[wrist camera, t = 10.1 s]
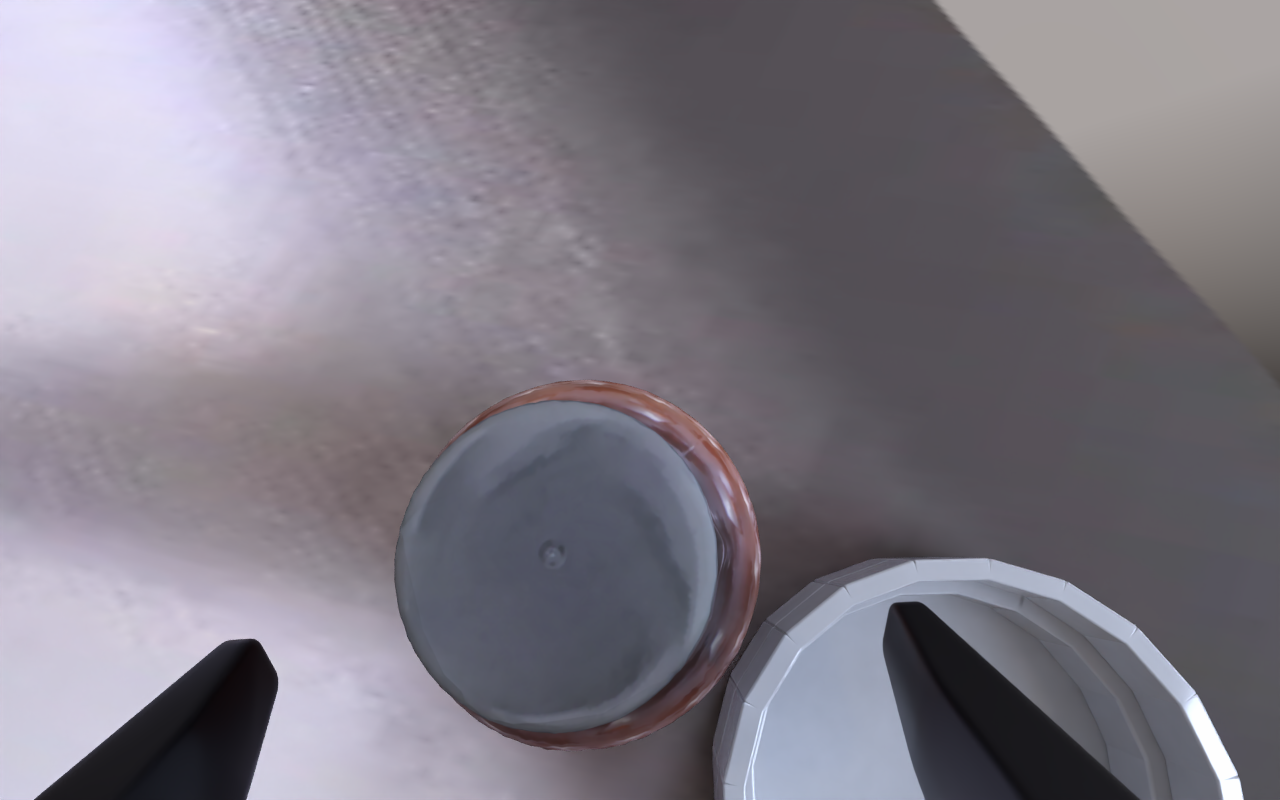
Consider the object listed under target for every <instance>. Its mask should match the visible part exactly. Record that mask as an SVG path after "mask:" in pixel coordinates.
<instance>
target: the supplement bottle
mask: <svg viewBox="0 0 1280 800" xmlns="http://www.w3.org/2000/svg"><path fill="white" fill-rule="evenodd" d="M760 571H761V548H760V539H759V532H758V526H757V519H756V515H755V512H754V509H753V505H752V503H751V501H750V498H749V494H748V491H747V489H746V486H745V484H744V482H743V480H742V478H741V476H740V474H739V472H738V470H737V469H736V467H735V465H734V464H733V462H732V461H731V459H730V457H729V456H728V454H727V453H726V451H725V450H724V449H723V448H722V446H721V445H720V444H719V443H718V441H717V440H716V439H715V438H714V437H713V436H712V435H711V434H710V433H709V432H708V431H707V430H706V429H705V428H704V427H703V426H702V425H701V424H700V423H699V422H698V421H696V420H695V419H694V418H692V417H691V416H690V415H688V414H687V413H686V412H684V411H683V410H681V409H680V408H679V407H677V406H675V405H674V404H672V403H670V402H668V401H666V400H664V399H662V398H660V397H658V396H656V395H654V394H652V393H650V392H648V391H644V390H641V389H638V388H635V387H632V386H628V385H624V384H618V383H612V382H605V381H596V380H577V381H562V382H556V383H551V384H547V385H542V386H538V387H535V388H532V389H529V390H526V391H523V392H520V393H518V394H515V395H513V396H510V397H508V398H506V399H504V400H502V401H500V402H499V403H497V404H495V405H493V406H491V407H490V408H488V409H487V410H485V411H484V412H482V413H481V414H480V415H478V416H477V417H476V418H474V419H473V420H471V421H470V422H468V423H467V424H466V425H465V427H463V428H462V429H461V430H460V431H459V432H458V433H457V434H456V435H455V436H454V437H453V438H452V439H451V440H450V441H449V443H448V444H447V445H446V446H445V447H444V449H443V450H442V451H441V452H440V454H439V455H438V457H437V458H436V460H435V461H434V462H433V464H432V465H431V466H430V468H429V470H428V471H427V472H426V473H425V474H424V476H423V478H422V480H421V482H420V484H419V485H418V486H417V488H416V489H415V491H414V493H413V495H412V497H411V500H410V503H409V505H408V507H407V509H406V512H405V515H404V519H403V521H402V524H401V526H400V533H399V538H398V542H397V546H396V553H395V587H396V595H397V602H398V608H399V612H400V616H401V619H402V621H403V624H404V627H405V630H406V633H407V637H408V639H409V641H410V642H411V644H412V646H413V649H414V651H415V653H416V654H417V656H418V657H419V659H420V661H421V662H422V664H423V665H424V667H425V668H426V670H427V671H428V673H429V674H430V675H431V676H432V677H433V678H434V680H435V681H436V682H437V683H438V684H439V686H440V687H441V688H442V689H443V690H444V691H446V692H447V693H448V694H449V695H450V696H451V697H452V698H453V699H454V700H455V701H456V702H457V703H458V704H459V705H460V706H461V707H463V708H464V709H465V710H466V711H467V712H468V713H469V714H470V715H472V716H473V717H474V718H475V719H477V720H478V721H479V722H481V723H482V724H484V725H486V726H487V727H489V728H490V729H493V730H495V731H497V732H498V733H500V734H502V735H503V736H505V737H508V738H511V739H514V740H517V741H519V742H521V743H524V744H527V745H530V746H536V747H541V748H544V749H547V750H565V751H582V750H588V749H604V748H609V747H614V746H619V745H624V744H626V743H628V742H630V741H632V740H636V739H641V738H644V737H646V736H648V735H650V734H651V733H653V732H655V731H657V730H659V729H661V728H663V727H665V726H667V725H669V724H670V723H672V722H674V721H675V720H676V719H677V718H679V717H680V716H682V715H684V714H685V713H686V712H688V711H689V710H690V709H691V708H692V707H694V706H695V705H697V704H698V703H699V702H700V701H701V700H702V699H703V698H704V697H705V696H706V695H707V693H708V692H709V691H710V690H711V689H712V688H713V687H714V686H715V685H716V684H717V683H718V681H719V680H720V679H721V677H722V676H723V674H724V673H725V672H726V670H727V668H728V666H729V665H730V663H731V662H732V661H733V659H734V658H735V656H736V655H737V653H738V651H739V649H740V647H741V644H742V641H743V639H744V637H745V636H746V634H747V630H748V627H749V624H750V622H751V619H752V615H753V612H754V608H755V605H756V600H757V596H758V590H759V581H760Z"/></svg>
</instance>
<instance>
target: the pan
mask: <svg viewBox="0 0 1280 800" xmlns="http://www.w3.org/2000/svg"><path fill="white" fill-rule="evenodd" d="M911 601H917V602H921V603H923V604H925V605H926V606H927V607H928V608H929V609H931V610H932V611H933V612H934V613H935V614H936V615H937V616H938V617H939V618H941V619H942V620H943V621H944V622H945V623H946V624H947V625H948V626H949V627H950V628H952V629H953V630H954V631H955V632H956V633H957V634H958V635H959V636H960V637H961V638H963V639H964V640H965V641H966V642H967V643H968V644H969V645H970V646H971V647H973V648H974V649H975V650H976V651H977V652H978V653H979V654H980V655H981V656H982V657H984V658H985V659H986V660H987V661H988V662H989V663H990V664H991V665H992V666H993V667H995V668H996V669H997V670H998V671H999V672H1000V673H1001V674H1002V675H1003V676H1005V677H1006V678H1007V679H1008V680H1009V681H1010V682H1011V683H1012V684H1013V685H1014V686H1016V687H1017V688H1018V689H1019V690H1020V691H1021V692H1022V693H1023V694H1024V695H1026V696H1027V697H1028V698H1029V699H1030V700H1031V701H1032V702H1033V703H1034V704H1035V705H1037V706H1038V707H1039V708H1040V709H1041V710H1042V711H1043V712H1044V713H1045V714H1046V715H1048V716H1049V717H1050V718H1051V719H1052V720H1053V721H1054V722H1055V723H1056V724H1058V725H1059V726H1060V727H1061V728H1062V729H1063V730H1064V731H1065V732H1066V733H1067V734H1069V735H1070V736H1071V737H1072V738H1073V739H1074V740H1075V741H1076V742H1077V743H1078V744H1080V745H1081V746H1082V747H1083V748H1084V749H1085V750H1086V751H1087V752H1088V753H1090V754H1091V755H1092V756H1093V757H1094V758H1095V759H1096V760H1097V761H1098V762H1099V763H1101V764H1102V765H1103V766H1104V767H1105V768H1106V769H1107V770H1108V771H1109V772H1110V773H1112V774H1113V775H1114V776H1115V777H1116V778H1117V779H1118V780H1119V781H1120V782H1122V783H1123V784H1124V785H1125V786H1126V787H1127V788H1128V789H1129V790H1130V791H1131V792H1133V793H1134V794H1135V795H1136V796H1137V797H1138V798H1139V799H1140V800H1244V798H1243V793H1242V789H1241V784H1240V779H1239V777H1238V776H1237V775H1238V773H1237V771H1236V769H1235V767H1234V765H1233V763H1232V761H1231V759H1230V757H1229V756H1228V754H1227V752H1226V750H1225V748H1224V746H1223V744H1222V742H1221V740H1220V738H1219V736H1218V734H1217V732H1216V730H1215V728H1214V726H1213V724H1212V722H1211V720H1210V718H1209V716H1208V714H1207V712H1206V710H1205V708H1204V706H1203V704H1202V702H1201V700H1200V698H1199V696H1198V695H1197V694H1196V692H1195V691H1194V690H1193V688H1192V687H1191V686H1190V685H1189V684H1188V683H1187V682H1186V681H1185V679H1184V678H1183V677H1182V676H1181V675H1180V674H1179V673H1178V672H1177V671H1176V669H1175V668H1174V667H1173V666H1172V665H1171V664H1170V663H1169V662H1168V660H1167V659H1166V658H1165V657H1164V656H1163V655H1162V654H1161V653H1160V652H1159V650H1158V649H1157V648H1156V647H1155V646H1154V645H1153V644H1152V643H1151V642H1150V640H1149V639H1148V638H1147V637H1146V636H1145V635H1144V634H1143V633H1142V631H1141V630H1140V629H1139V628H1137V627H1136V626H1135V625H1134V624H1133V623H1131V622H1130V621H1128V620H1126V619H1125V618H1123V617H1122V616H1120V615H1119V614H1117V613H1116V612H1114V611H1112V610H1111V609H1109V608H1108V607H1106V606H1105V605H1103V604H1102V603H1100V602H1098V601H1097V600H1095V599H1094V598H1092V597H1091V596H1089V595H1088V594H1086V593H1085V592H1083V591H1081V590H1080V589H1078V588H1077V587H1075V586H1074V585H1072V584H1071V583H1069V582H1067V581H1064V580H1062V579H1059V578H1056V577H1052V576H1049V575H1045V574H1042V573H1039V572H1035V571H1032V570H1028V569H1025V568H1022V567H1018V566H1015V565H1011V564H1008V563H1005V562H1001V561H998V560H994V559H988V558H965V557H908V558H875V559H869V560H867V561H864V562H861V563H858V564H856V565H853V566H850V567H847V568H845V569H842V570H839V571H836V572H834V573H831V574H828V575H826V576H823V577H820V578H817V579H815V581H813V582H811V583H809V584H808V585H807V586H806V587H805V588H803V589H802V590H801V591H800V592H798V593H797V594H796V595H795V596H794V597H792V598H791V599H790V600H789V601H787V602H786V603H785V604H784V605H783V606H781V607H780V608H779V609H778V610H776V611H775V612H774V613H773V614H771V615H770V616H769V617H768V618H767V619H766V621H764V622H763V623H762V625H761V626H760V628H759V630H758V631H757V633H756V634H755V636H754V638H753V639H752V641H751V642H750V644H749V646H748V647H747V649H746V650H745V652H744V654H743V655H742V657H741V658H740V660H739V662H738V663H737V665H736V666H735V668H734V670H733V671H732V673H731V675H730V677H731V678H730V679H729V680H728V684H727V688H726V692H725V696H724V700H723V703H722V707H721V711H720V715H719V719H718V723H717V727H716V731H715V735H714V739H713V745H714V746H713V748H712V756H713V780H714V800H925V798H924V796H923V793H922V790H921V788H920V785H919V782H918V779H917V777H916V774H915V771H914V768H913V765H912V761H911V758H910V754H909V751H908V747H907V743H906V739H905V736H904V732H903V728H902V724H901V720H900V716H899V713H898V709H897V705H896V701H895V697H894V694H893V690H892V686H891V682H890V678H889V674H888V671H887V667H886V663H885V659H884V654H883V636H884V631H885V626H886V621H887V616H888V611H889V608H890V606H891V605H892V604H893V603H896V602H911Z"/></svg>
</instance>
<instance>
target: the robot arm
mask: <svg viewBox="0 0 1280 800" xmlns="http://www.w3.org/2000/svg"><path fill="white" fill-rule="evenodd" d="M883 654H884V659H885V663H886V667H887V671H888V674H889V678H890V682H891V686H892V690H893V694H894V697H895V701H896V705H897V709H898V713H899V716H900V720H901V724H902V728H903V732H904V736H905V739H906V743H907V747H908V751H909V754H910V758H911V761H912V765H913V768H914V771H915V774H916V777H917V779H918V782H919V785H920V788H921V790H922V793H923V796H924V798H925V800H1140V799H1139V798H1138V797H1137V796H1136V795H1135V794H1134V793H1133V792H1131V791H1130V790H1129V789H1128V788H1127V787H1126V786H1125V785H1124V784H1123V783H1122V782H1120V781H1119V780H1118V779H1117V778H1116V777H1115V776H1114V775H1113V774H1112V773H1110V772H1109V771H1108V770H1107V769H1106V768H1105V767H1104V766H1103V765H1102V764H1101V763H1099V762H1098V761H1097V760H1096V759H1095V758H1094V757H1093V756H1092V755H1091V754H1090V753H1088V752H1087V751H1086V750H1085V749H1084V748H1083V747H1082V746H1081V745H1080V744H1078V743H1077V742H1076V741H1075V740H1074V739H1073V738H1072V737H1071V736H1070V735H1069V734H1067V733H1066V732H1065V731H1064V730H1063V729H1062V728H1061V727H1060V726H1059V725H1058V724H1056V723H1055V722H1054V721H1053V720H1052V719H1051V718H1050V717H1049V716H1048V715H1046V714H1045V713H1044V712H1043V711H1042V710H1041V709H1040V708H1039V707H1038V706H1037V705H1035V704H1034V703H1033V702H1032V701H1031V700H1030V699H1029V698H1028V697H1027V696H1026V695H1024V694H1023V693H1022V692H1021V691H1020V690H1019V689H1018V688H1017V687H1016V686H1014V685H1013V684H1012V683H1011V682H1010V681H1009V680H1008V679H1007V678H1006V677H1005V676H1003V675H1002V674H1001V673H1000V672H999V671H998V670H997V669H996V668H995V667H993V666H992V665H991V664H990V663H989V662H988V661H987V660H986V659H985V658H984V657H982V656H981V655H980V654H979V653H978V652H977V651H976V650H975V649H974V648H973V647H971V646H970V645H969V644H968V643H967V642H966V641H965V640H964V639H963V638H961V637H960V636H959V635H958V634H957V633H956V632H955V631H954V630H953V629H952V628H950V627H949V626H948V625H947V624H946V623H945V622H944V621H943V620H942V619H941V618H939V617H938V616H937V615H936V614H935V613H934V612H933V611H932V610H931V609H929V608H928V607H927V606H926V605H925V604H923V603H921V602H917V601H911V602H896V603H893V604H892V605H891V606H890V608H889V611H888V616H887V621H886V626H885V631H884V636H883ZM277 690H278V676H277V672H276V670H275V669H274V667H273V665H272V663H271V661H270V659H269V658H268V656H267V654H266V652H265V650H264V649H263V647H262V645H261V644H260V642H259V641H257V640H255V639H238V640H229V641H226V642H224V643H222V644H221V645H219V646H218V647H217V648H215V649H214V650H213V651H212V652H211V653H209V654H208V655H207V656H206V657H205V658H203V659H202V660H201V661H200V662H199V663H197V664H196V665H195V666H194V667H193V668H191V669H190V670H189V671H188V672H187V673H185V674H184V675H183V676H182V677H181V678H179V679H178V680H177V681H176V682H175V683H173V684H172V685H171V686H170V687H169V688H167V689H166V690H165V691H164V692H163V693H161V694H160V695H159V696H158V697H157V698H155V699H154V700H153V701H152V702H151V703H149V704H148V705H147V706H146V707H145V708H143V709H142V710H141V711H140V712H139V713H137V714H136V715H135V716H134V717H133V718H131V719H130V720H129V721H128V722H127V723H125V724H124V725H123V726H122V727H121V728H119V729H118V730H117V731H116V732H115V733H113V734H112V735H111V736H110V737H109V738H107V739H106V740H105V741H104V742H103V743H101V744H100V745H99V746H98V747H97V748H95V749H94V750H93V751H92V752H91V753H89V754H88V755H87V756H86V757H85V758H83V759H82V760H81V761H80V762H79V763H77V764H76V765H75V766H74V767H73V768H71V769H70V770H69V771H68V772H67V773H65V774H64V775H63V776H62V777H61V778H59V779H58V780H57V781H56V782H55V783H53V784H52V785H51V786H50V787H49V788H47V789H46V790H45V791H44V792H42V793H41V794H40V795H39V796H38V797H36V798H35V799H34V800H246V798H247V795H248V792H249V789H250V786H251V783H252V779H253V776H254V772H255V769H256V765H257V761H258V758H259V754H260V751H261V747H262V744H263V740H264V737H265V733H266V730H267V726H268V723H269V719H270V716H271V712H272V708H273V705H274V701H275V698H276V694H277Z"/></svg>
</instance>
